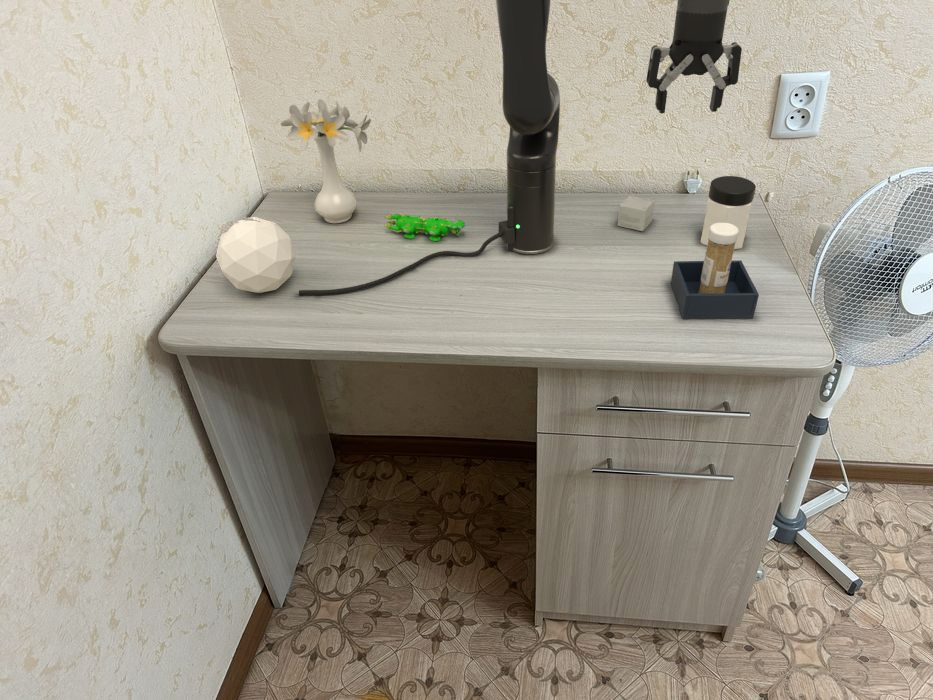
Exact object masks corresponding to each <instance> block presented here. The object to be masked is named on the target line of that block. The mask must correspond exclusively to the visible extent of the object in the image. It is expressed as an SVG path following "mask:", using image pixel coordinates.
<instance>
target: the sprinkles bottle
mask: <svg viewBox="0 0 933 700" xmlns="http://www.w3.org/2000/svg"><path fill="white" fill-rule="evenodd" d="M738 233H739V230H738V228H737V227H736V226H734V225H732V224H729V223H715V224H713V225H711V226H710V229H709V233H708V245H707V246H706V251H705V255H704V259H703V261H704V264H703V270H702V275H701V284H700V289H699V292H698V294H709V293H725V289H726V284H727V282H728V277H729V272H730V267H731V262H732V261H733V255H734V251H735V249H734V246H735V243H736V241H737V238H738Z"/></svg>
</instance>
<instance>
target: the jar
mask: <svg viewBox="0 0 933 700" xmlns="http://www.w3.org/2000/svg"><path fill="white" fill-rule="evenodd" d="M709 185H710V186H709V191H708V199H707V204H706V209H705V215H704V221H703V226H702V231H701V238H700V244H702V245H704V246H706V247H707V245H708V233H709V229H710V226H711V225H713V224H715V223H729V224H732V225H734V226H736V227H737V228H738V230H739V233H738V238H737V241H736V243H735V246H734V250H740V249H743V247H744V242H745V236H746V232H747V228H748V223H749V220H750V216H751V215H750V214H751V210H752V205H753V201H754V197H755V193H756V188H757V187H756V184H755V183H754V181H752V180H750V179H748V178H745V177H741V176H736V175H735V176H734V175H723V176H719V177H716V178H714V179H712V180H711V181H710V184H709Z"/></svg>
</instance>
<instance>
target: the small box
mask: <svg viewBox="0 0 933 700" xmlns="http://www.w3.org/2000/svg"><path fill="white" fill-rule="evenodd" d="M618 206H619V207H618V220H617V226H618V227H622V228H625V229H631V230H635V231H639V232H644V231H645V230H646V228H647V227H648V226H649V225H650V224H651V223H652V221H653V217H654V208H655V199H649V198H644V197H639V196H634V195H628V196H627V198H626V199H625V200H623V202H621V203H620V204H619V205H618Z"/></svg>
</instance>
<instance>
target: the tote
mask: <svg viewBox="0 0 933 700" xmlns="http://www.w3.org/2000/svg"><path fill="white" fill-rule="evenodd" d="M703 264H704V260H681V261H680V260H677V261H675V260H674V261H673V267H672V272H671V279H670V287H671V289H672V292H673V296H674V299H675V301H676V304H677V307H678V311H679V313H680V317H681V319H682V320H718V319H719V320H739V319H741V320H742V319H743V320H744V319H746V320H748V319H749V320H751V319H753V320H754V316H755V313H756V308H757V304H758V302H759V301H758V300H759V297H760V294H759V292H758V290H757V288H756V286H755V285H754V282H753V281H752V278H751V277H750V274H749V273H748V271H747V269H746V267H745V264H744V263H743V261H742V259H741V260H738V259H737V260H732V262H731V267H730V272H729V277H728V282H727V284H726V289H725V293H709V294H698V292H699V289H700V284H701V275H702V270H703Z"/></svg>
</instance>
